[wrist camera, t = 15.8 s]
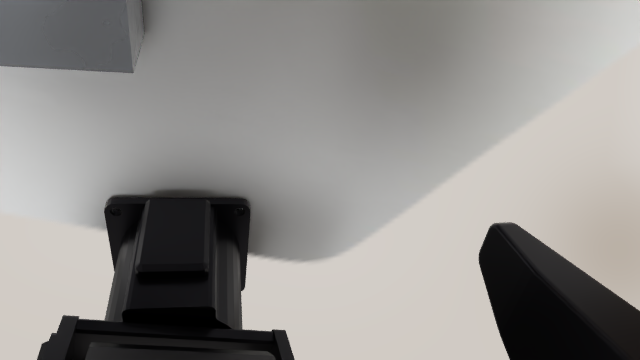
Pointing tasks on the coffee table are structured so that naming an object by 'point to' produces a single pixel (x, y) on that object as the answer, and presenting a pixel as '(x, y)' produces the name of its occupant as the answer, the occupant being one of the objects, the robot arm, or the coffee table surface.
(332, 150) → the coffee table surface
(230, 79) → the coffee table surface
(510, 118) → the coffee table surface
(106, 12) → the socket block
